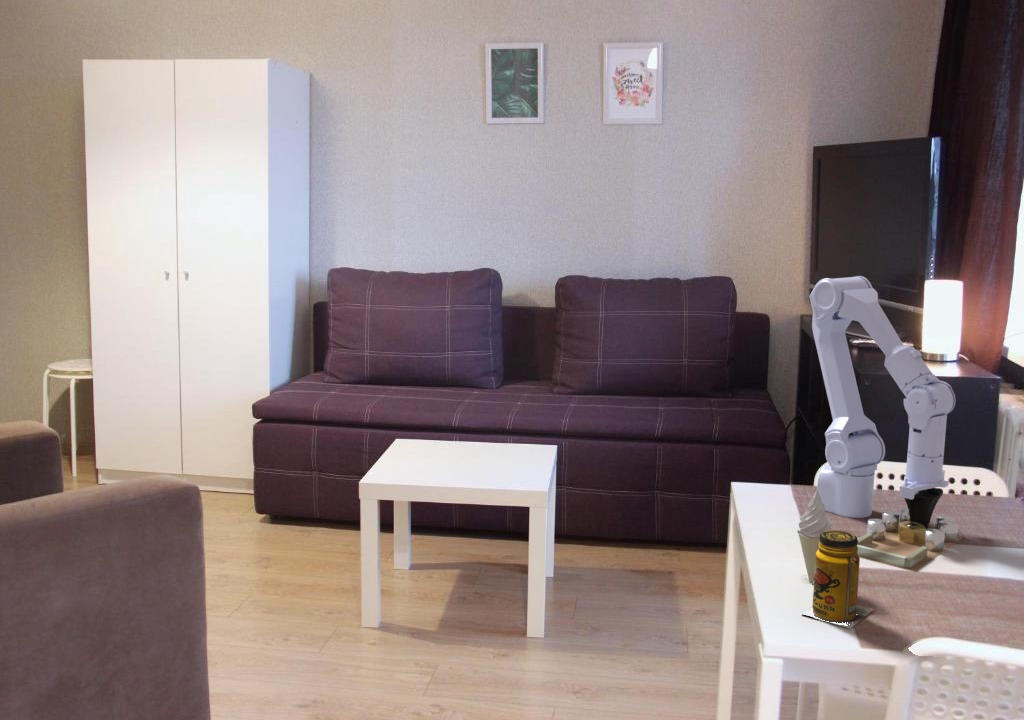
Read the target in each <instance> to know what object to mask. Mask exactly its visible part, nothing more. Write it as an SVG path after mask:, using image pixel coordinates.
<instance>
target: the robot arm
mask: <svg viewBox="0 0 1024 720" xmlns="http://www.w3.org/2000/svg"><path fill="white" fill-rule="evenodd" d="M808 297H809V302H810V305H811V310H812V319H811V320H812V321H811V326H812V327H811V328H812V333H813V339H814V344H815V347H816V350H817V351H816V352H817V355H818V360H819V364H820V369H821V373H822V379H823V383H824V387H825V391H826V396H827V400H828V404H829V408H830V414H831V418H832V422H831V424H830V425H829V426H828V428H827V430H826V431H825V432H824V436H825V442H826V443H825V444H826V445H825V449H824V451H825V452H824V453H825V454H824V455H825V459H826V462H827V465H825V466H823V467H822V468H821V470H820V472H819V474H818V478H817V484H816V490H818V493H819V496H820V498H821V501H822V503H823V505H824V507H825V512H829V513H832V514H835V515H838V516H841V517H846V518H854V519H855V518H856V519H858V518H859V519H861V518H862V519H863V518H866V517H870V516H871V515H872V513H873V501H874V487H875V486H874V485H875V476H876V475H875V473H876V472H875V471H877V470H878V465H879V464H880V463H881V462H883V460H884V458H885V456H886V445H885V442H884V440H883V438H882V437H881V436H880V434H879V432H878V430H877V427H876V424H875V422H873V421H872V420H871V419H870V418H868V417H867V416H866V415H865V413H864V410H863V409H864V408H863V406H862V405H863V404H862V401H861V397H860V396H861V395H860V392H859V388H858V384H857V380H856V374H855V370H854V366H853V362H852V361H853V360H852V358H851V354H850V353H851V352H850V348H849V344H848V339H847V335H846V330H847V329H848V327H849V326H850V324H851V322H852V321H855V322H858V323H859V324H860V325H861V326H862V327H863V329H864V330H865V331H866V333H867V334H868V335H869V336H870V338H871V339H872V340H873V341H874V343H875V344H876V345H877V346H878V347H879V349H880V350H881V351H882V352H883V354H884V356H885V357H884V358H885V359H884V361H883V362H884V364H883V365H884V367H885V369H886V370H887V372H888V373H889V374H890V376H891V378H893V380H894V382H895V383H896V385H897V386H898V387H899V390H900V391H901V392H902V394H904V396H905V398H903V407H904V410H905V411H906V413H907V417H908V418H907V420H908V422H907V423H908V425H909V427H908V428H909V430H908V431H909V432H908V444H907V456H906V469H905V475H904V478H903V485H901V487H900V498H902V499H904V501H905V504H906V505H907V506H906V507H908V510H909V514H910V520H911V521H912V522H916V523H921V524H924V526H925V528H926V529H927V528H929V526H930V522H931V520H932V515H933V513H934V510H935V508H936V506H937V503H938V502H939V500H940V499H941V497H942V496H943V495H944V489H940V488H947V487H948V486H949V481H948V480H945V474H946V473H945V472H946V471H945V470H943V467H944V457H945V456H944V455H945V444H946V443H945V442H946V431H947V419H948V414H950V413H952V412H953V410H954V408H955V407H956V402H957V401H956V395H955V392H954V390H953V388H952V385H951V384H949V383H948V382H947V381H943V380H940V379H939V378H938V377H937V376H936V375H935V374H933V373H932V371H931V369H930V368H929V366H928V365H927V364H926V363H925V361H924V360H923V358H922V356H923V354H922V353H921V351H920V350H919V349H916V348H915V347H913V346H912V345H911V346H910V345H905V344H904V343H903V341H902V340H901V338H900V337H899V335H898V334H897V331H896V330H895V328H894V327H893V325H892V323H891V322H890V320H889V318H888V317H887V315H886V313H885V312H884V310H883V308H882V307H881V305H880V303H879V293H878V292H877V290H876V289H875V288H873V286H872V284H871V282H870V280H869V279H868V278H866V277H864V276H862V275H856V276H851V277H850V276H848V277H838V278H837V277H836V278H830V277H829V278H828V277H826V278H822V279H820V280H819V281H818V282H816V284H815V286H814V287H813V290H812V291H811V293H810V294H809V296H808ZM851 433H852V434H851Z"/></svg>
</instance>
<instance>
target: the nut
mask: <svg viewBox="0 0 1024 720" xmlns="http://www.w3.org/2000/svg"><path fill="white" fill-rule="evenodd" d="M925 530H926V528H925V526H924V524H921V523H916V522H912V521H906V522H899V523H898V539H899V541H902V542H906V543H910V544H918V543H924V542H925Z"/></svg>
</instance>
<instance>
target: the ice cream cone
mask: <svg viewBox="0 0 1024 720" xmlns="http://www.w3.org/2000/svg"><path fill="white" fill-rule="evenodd" d="M806 507H807V509H806V511H805V512H804V513H803V515H801V516H800V517H799V523H798V528H799V529H797V534H798V537H799V543H800V547H801V551H802V555H803V560H804V564H805V568H806V573H807V577H808V582H809V584H814V574H815V557H816V552H817V551H818V549H819V547H818V544H819V542H820V541H819V540H820V539H819V537H820V534H821V533H822V532H825V531H831V530H832V522H831V517H830V516H829V515H827V513H826V511H825V507H824V505H823V503H822V501H821V498H820V496H819V493H818V490H817V489H816V490H815V493H814V495H813V497H812V499H811V500H810V501H809V503H808V504H807V506H806Z"/></svg>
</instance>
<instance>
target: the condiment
mask: <svg viewBox="0 0 1024 720" xmlns="http://www.w3.org/2000/svg"><path fill="white" fill-rule="evenodd" d="M819 539H820V540H819V541H820V542H819V544H818V547H819V549H818V551H817V552H816V557H815V574H814V581H813V590H812V591H813V593H812V607H813V613H814V616H815V617H818V618H820V619H822V620H825V621H829V622H836V623H837V622H838V623H842V622H843V623H845V622H846V624H847V622H848V624H847V625H848V626H844V625H839V626H840V627H844V628H847V629H852V628H853V627H854V626H856V625H857V624H858V623H859V622H860V621H862V620H863V619H864V618H865V617H866V616H869V614H870V613H871V612H872V611H874V608H871V607H865V606H859V605H858V593H859V591H858V590H859V575H860V561H861V560H860V559H861V558H859V555H858V553H857V551H858V547H857V544H858V539H859V538H858V537H857V536H856V535H855V534H853V533H851V532H848V531H843V530H834V529H833V530H832V529H831V531H825V532H822V533H821V534H820V537H819ZM856 614H858V615H856ZM852 622H853V623H852ZM849 624H850V625H849Z"/></svg>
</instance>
